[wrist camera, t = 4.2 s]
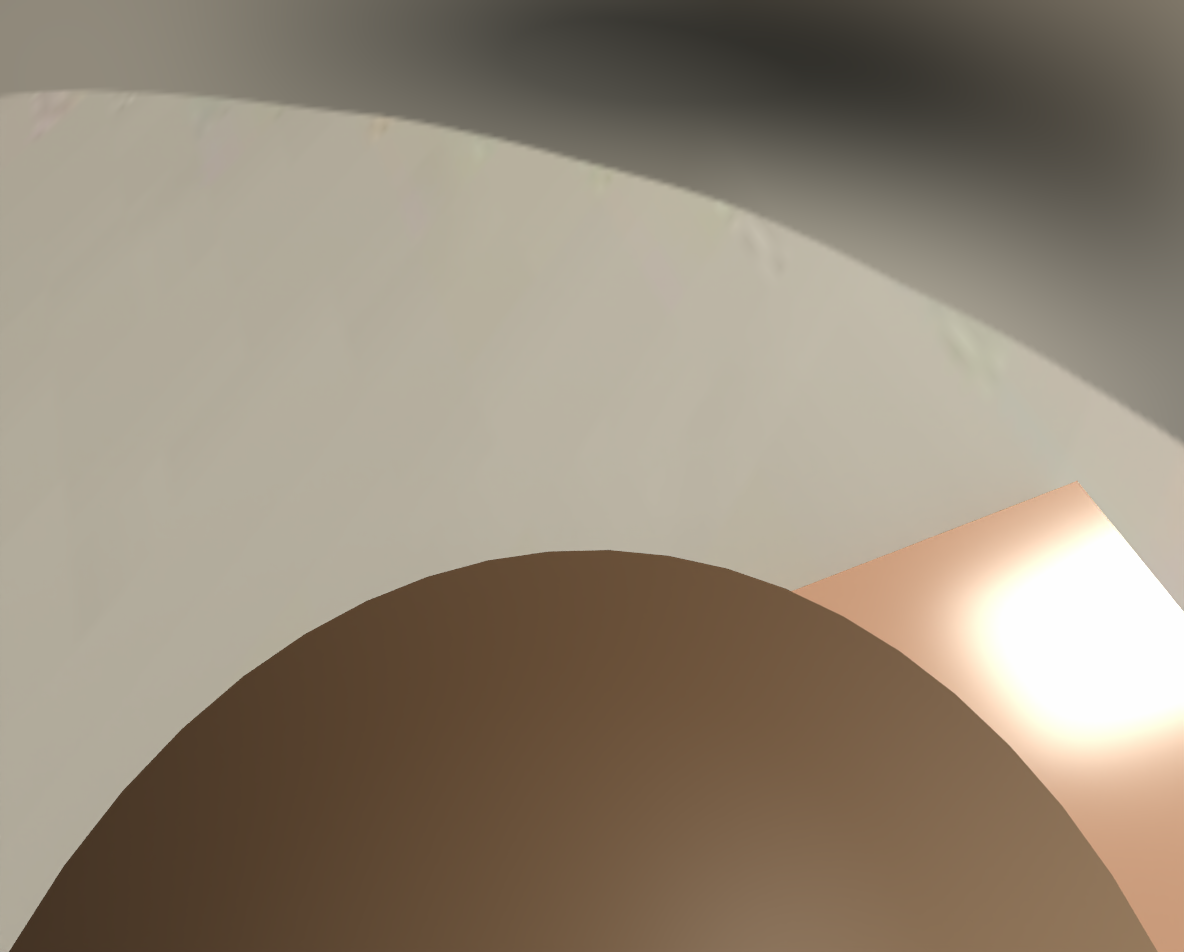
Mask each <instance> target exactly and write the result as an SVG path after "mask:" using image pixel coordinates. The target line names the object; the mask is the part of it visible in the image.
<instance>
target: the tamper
mask: <svg viewBox="0 0 1184 952" xmlns="http://www.w3.org/2000/svg"><path fill="white" fill-rule="evenodd" d="M9 952H1158V951H1157V950H1156V948H1155V946H1154V945H1153V943H1152V941H1151V940H1150V938H1149V936H1148V935H1147V933H1146V931H1145V930H1144V928H1143V926H1142V924H1141V923H1140V921H1139V919H1138V918H1137V916H1136V914H1135V913H1134V911H1133V909H1132V908H1131V906H1130V904H1129V903H1128V901H1127V899H1126V897H1125V896H1124V894H1123V892H1122V891H1121V889H1120V887H1119V886H1118V884H1117V882H1116V881H1115V879H1114V877H1113V876H1112V874H1111V873H1110V871H1109V870H1108V869H1107V867H1106V866H1105V865H1104V863H1103V862H1102V860H1101V859H1100V858H1099V856H1098V855H1097V853H1096V852H1095V851H1094V849H1093V848H1092V846H1091V845H1090V844H1089V842H1088V841H1087V840H1086V838H1085V837H1084V835H1083V834H1082V833H1081V831H1080V830H1079V828H1078V827H1077V826H1076V824H1075V823H1074V821H1073V820H1072V819H1071V817H1070V816H1069V815H1068V813H1067V812H1066V810H1065V809H1064V808H1063V806H1062V805H1061V804H1060V803H1059V802H1058V800H1057V799H1056V798H1055V797H1054V796H1053V795H1052V794H1051V792H1050V791H1049V790H1048V789H1047V788H1046V787H1045V785H1044V784H1043V783H1042V782H1041V781H1040V780H1039V779H1038V777H1037V776H1036V775H1035V774H1034V773H1033V772H1032V771H1031V769H1030V768H1029V767H1028V766H1027V765H1026V764H1025V763H1024V761H1023V760H1022V759H1021V758H1020V757H1019V756H1018V754H1017V753H1016V752H1015V751H1014V750H1013V749H1012V748H1011V746H1010V745H1009V744H1008V743H1007V742H1005V741H1004V740H1003V739H1002V738H1001V737H1000V736H999V735H998V734H997V733H996V732H995V731H994V730H993V729H992V728H991V727H990V726H989V725H987V724H986V723H985V722H984V721H983V720H982V719H981V718H980V717H979V716H978V715H977V714H976V713H975V712H974V711H973V710H972V709H971V708H970V707H968V706H967V705H966V704H965V703H964V702H963V701H962V700H961V699H960V698H959V697H958V696H957V695H956V694H955V693H953V692H952V691H951V690H949V689H948V688H947V687H946V686H944V685H943V684H942V683H940V682H939V681H938V680H936V679H935V678H934V677H933V676H931V675H930V674H929V673H927V672H926V671H925V670H924V669H922V668H921V667H920V666H918V665H917V664H916V663H914V662H913V661H912V660H911V659H909V658H908V657H907V656H905V655H904V654H903V653H902V652H900V651H899V650H897V649H895V648H894V647H892V646H891V645H889V644H887V643H886V642H884V641H883V640H881V639H879V638H878V637H876V636H874V635H873V634H871V633H870V632H868V631H866V630H865V629H863V628H861V627H860V626H858V625H857V624H855V623H853V622H852V621H850V620H849V619H847V618H845V617H844V616H842V615H840V614H837V613H835V612H833V611H831V610H829V609H827V608H825V607H823V606H821V605H819V604H816V603H814V602H812V601H810V600H808V599H806V598H804V597H802V596H800V595H798V594H795V593H793V592H791V591H789V590H787V589H785V588H782V587H779V586H776V585H773V584H770V583H767V582H764V581H761V580H758V579H756V578H753V577H750V576H747V575H744V574H741V573H738V572H735V571H732V570H729V569H726V568H721V567H717V566H712V565H708V564H703V563H698V562H694V561H689V560H685V559H680V558H675V557H671V556H663V555H653V554H643V553H632V552H622V551H611V550H599V551H558V552H544V553H537V554H530V555H523V556H516V557H509V558H502V559H495V560H488V561H485V562H481V563H477V564H474V565H470V566H466V567H462V568H459V569H455V570H451V571H448V572H444V573H440V574H436V575H433V576H429V577H426V578H424V579H421V580H419V581H416V582H413V583H411V584H408V585H406V586H403V587H401V588H398V589H396V590H393V591H391V592H388V593H386V594H383V595H381V596H378V597H376V598H373V599H371V600H368V601H366V602H364V603H362V604H360V605H358V606H357V607H355V608H353V609H351V610H349V611H347V612H345V613H344V614H342V615H340V616H338V617H336V618H334V619H332V620H331V621H329V622H327V623H325V624H323V625H321V626H319V627H317V628H316V629H314V630H312V631H310V632H308V633H306V634H305V635H303V636H302V637H300V638H299V639H297V640H296V641H294V642H293V643H291V644H290V645H288V646H287V647H286V648H284V649H283V650H281V651H280V652H278V653H277V654H275V655H274V656H272V657H271V658H270V659H268V660H267V661H265V662H264V663H262V664H261V665H259V666H258V667H256V668H255V669H254V670H252V671H251V672H249V673H248V674H246V675H245V676H243V677H242V678H241V679H240V680H239V681H238V682H236V683H235V684H234V685H233V686H232V687H230V688H229V689H228V690H227V691H226V692H225V693H223V694H222V695H221V696H220V697H219V698H218V699H216V700H215V701H214V702H213V703H212V704H211V705H209V706H208V707H207V708H206V709H205V710H204V711H202V712H201V713H200V714H199V715H198V716H197V717H195V718H194V719H193V720H192V721H191V722H190V723H188V724H187V725H186V726H185V727H184V728H183V729H182V730H181V731H180V732H179V733H178V734H177V735H176V736H175V737H174V738H173V739H172V740H171V741H170V742H169V743H168V744H167V745H166V746H165V747H164V748H163V749H162V751H161V752H160V753H159V754H158V755H157V756H156V757H155V758H154V759H153V760H152V761H151V762H150V763H149V764H148V765H147V766H146V767H145V768H144V769H143V770H142V771H141V773H140V774H139V775H138V776H137V777H136V778H135V779H134V780H133V781H132V782H131V783H130V784H129V785H128V786H127V787H126V788H125V789H124V790H123V791H122V793H121V794H120V795H119V796H118V798H117V799H116V800H115V802H114V803H113V804H112V805H111V807H110V808H109V809H108V811H107V812H106V813H105V814H104V816H103V817H102V818H101V819H100V821H99V822H98V823H97V825H96V826H95V827H94V828H93V830H92V831H91V832H90V834H89V835H88V836H87V837H86V839H85V840H84V841H83V842H82V844H81V845H80V846H79V848H78V849H77V850H76V851H75V853H74V854H73V855H72V857H71V858H70V859H69V860H68V862H67V863H66V864H65V865H64V867H63V868H62V870H61V872H60V873H59V875H58V876H57V878H56V879H55V881H54V882H53V884H52V886H51V887H50V889H49V890H48V892H47V893H46V895H45V897H44V898H43V900H42V901H41V903H40V904H39V906H38V907H37V909H36V911H35V912H34V914H33V915H32V917H31V918H30V920H29V922H28V923H27V925H26V926H25V928H24V929H23V931H22V932H21V934H20V936H19V937H18V939H17V940H16V942H15V943H14V945H13V947H12V948H11V950H10V951H9Z"/></svg>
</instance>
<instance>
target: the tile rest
mask: <svg viewBox="0 0 1184 952" xmlns="http://www.w3.org/2000/svg"><path fill="white" fill-rule="evenodd" d="M791 592H793V593H795V594H798V595H800V596H802V597H804V598H806V599H808V600H810V601H812V602H814V603H816V604H819V605H821V606H823V607H825V608H827V609H829V610H831V611H833V612H835V613H837V614H840V615H842V616H844V617H845V618H847V619H849V620H850V621H852V622H853V623H855V624H857V625H858V626H860V627H861V628H863V629H865V630H866V631H868V632H870V633H871V634H873V635H874V636H876V637H878V638H879V639H881V640H883V641H884V642H886V643H887V644H889V645H891V646H892V647H894V648H895V649H897V650H899V651H900V652H902V653H903V654H904V655H905V656H907V657H908V658H909V659H911V660H912V661H913V662H914V663H916V664H917V665H918V666H920V667H921V668H922V669H924V670H925V671H926V672H927V673H929V674H930V675H931V676H933V677H934V678H935V679H936V680H938V681H939V682H940V683H942V684H943V685H944V686H946V687H947V688H948V689H949V690H951V691H952V692H953V693H955V694H956V695H957V696H958V697H959V698H960V699H961V700H962V701H963V702H964V703H965V704H966V705H967V706H968V707H970V708H971V709H972V710H973V711H974V712H975V713H976V714H977V715H978V716H979V717H980V718H981V719H982V720H983V721H984V722H985V723H986V724H987V725H989V726H990V727H991V728H992V729H993V730H994V731H995V732H996V733H997V734H998V735H999V736H1000V737H1001V738H1002V739H1003V740H1004V741H1005V742H1007V743H1008V744H1009V745H1010V746H1011V748H1012V749H1013V750H1014V751H1015V752H1016V753H1017V754H1018V756H1019V757H1020V758H1021V759H1022V760H1023V761H1024V763H1025V764H1026V765H1027V766H1028V767H1029V768H1030V769H1031V771H1032V772H1033V773H1034V774H1035V775H1036V776H1037V777H1038V779H1039V780H1040V781H1041V782H1042V783H1043V784H1044V785H1045V787H1046V788H1047V789H1048V790H1049V791H1050V792H1051V794H1052V795H1053V796H1054V797H1055V798H1056V799H1057V800H1058V802H1059V803H1060V804H1061V805H1062V806H1063V808H1064V809H1065V810H1066V812H1067V813H1068V815H1069V816H1070V817H1071V819H1072V820H1073V821H1074V823H1075V824H1076V826H1077V827H1078V828H1079V830H1080V831H1081V833H1082V834H1083V835H1084V837H1085V838H1086V840H1087V841H1088V842H1089V844H1090V845H1091V846H1092V848H1093V849H1094V851H1095V852H1096V853H1097V855H1098V856H1099V858H1100V859H1101V860H1102V862H1103V863H1104V865H1105V866H1106V867H1107V869H1108V870H1109V871H1110V873H1111V874H1112V876H1113V877H1114V879H1115V881H1116V882H1117V884H1118V886H1119V887H1120V889H1121V891H1122V892H1123V894H1124V896H1125V897H1126V899H1127V901H1128V903H1129V904H1130V906H1131V908H1132V909H1133V911H1134V913H1135V914H1136V916H1137V918H1138V919H1139V921H1140V923H1141V924H1142V926H1143V928H1144V930H1145V931H1146V933H1147V935H1148V936H1149V938H1150V940H1151V941H1152V943H1153V945H1154V946H1155V948H1156V950H1157V951H1158V952H1184V612H1183V611H1182V610H1181V608H1180V607H1179V606H1178V605H1177V603H1176V602H1175V601H1174V600H1173V599H1172V597H1171V596H1170V595H1169V594H1168V592H1167V591H1166V590H1165V589H1164V587H1163V586H1162V585H1161V584H1160V582H1159V581H1158V580H1157V579H1156V578H1155V576H1154V575H1153V574H1152V573H1151V571H1150V570H1149V569H1148V568H1147V566H1146V565H1145V564H1144V563H1143V562H1142V560H1141V559H1140V558H1139V557H1138V555H1137V554H1136V553H1135V552H1134V550H1133V549H1132V548H1131V547H1130V545H1129V544H1128V543H1127V542H1126V541H1125V539H1124V538H1123V537H1122V536H1121V534H1120V533H1119V532H1118V531H1117V529H1116V528H1115V527H1114V526H1113V524H1112V523H1111V522H1110V521H1109V520H1108V518H1107V517H1106V516H1105V515H1104V513H1103V512H1102V511H1101V510H1100V508H1099V507H1098V506H1097V505H1096V504H1095V502H1094V501H1093V500H1092V499H1091V497H1090V496H1089V495H1088V494H1087V492H1086V491H1085V490H1084V489H1083V487H1082V486H1081V485H1080V484H1079V483H1078V481H1076V482H1073V483H1071V484H1068V485H1066V486H1063V487H1060V488H1058V489H1055V490H1053V491H1050V492H1047V493H1045V494H1042V495H1040V496H1037V497H1034V498H1032V499H1029V500H1027V501H1024V502H1022V503H1019V504H1016V505H1014V506H1011V507H1009V508H1006V509H1003V510H1001V511H998V512H996V513H993V514H991V515H988V516H985V517H983V518H980V519H978V520H975V521H972V522H970V523H967V524H965V525H962V526H960V527H957V528H954V529H952V530H949V531H947V532H944V533H941V534H939V535H936V536H934V537H931V538H928V539H926V540H923V541H921V542H918V543H916V544H913V545H910V546H908V547H905V548H903V549H900V550H897V551H895V552H892V553H890V554H887V555H885V556H882V557H879V558H877V559H874V560H872V561H869V562H866V563H864V564H861V565H859V566H856V567H853V568H851V569H848V570H846V571H843V572H841V573H838V574H835V575H833V576H830V577H828V578H825V579H822V580H820V581H817V582H815V583H812V584H810V585H807V586H804V587H802V588H799V589H797V590H794V591H791Z"/></svg>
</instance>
